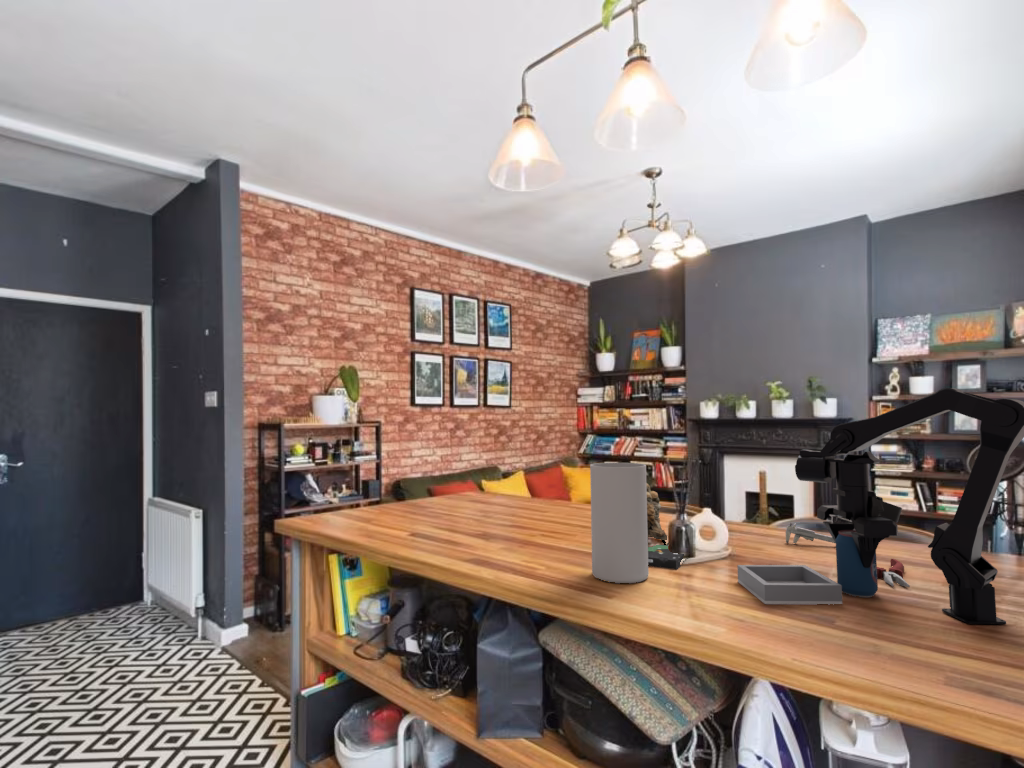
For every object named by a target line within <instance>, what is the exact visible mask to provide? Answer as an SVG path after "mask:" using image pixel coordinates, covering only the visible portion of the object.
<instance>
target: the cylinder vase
mask: <svg viewBox="0 0 1024 768" xmlns="http://www.w3.org/2000/svg"><path fill="white" fill-rule="evenodd" d="M589 466H590V468H589V470H590V474H589V475H590V520H591V522H590V523H591V524H590V525H591V526H590V527H591V530H590V531H591V534H590V536H591V574H592V576H594V578H595V579H597V578H599V579H601V580H600V581H602V580H605V581H609V582H608V583H610V582H615V583H614V584H620V583H629V584H637V583H640V582H643V581H646V580H647V579H648V578H649V573H650V572H649V566H648V529H647V486H646V483H647V465H646V464H644V463H638V462H637V463H635V462H598V463H590V465H589ZM599 579H598V580H599ZM605 581H604V582H605ZM636 582H637V583H636Z"/></svg>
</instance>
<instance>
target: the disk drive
mask: <svg viewBox="0 0 1024 768" xmlns="http://www.w3.org/2000/svg"><path fill="white" fill-rule="evenodd" d="M668 546H669V545H668V544H667V545H656V546H653V547H648V565H649V566H648V567H653V566H654V568H655V567H657V568H660V569H661V568H662V569H663V568H664V569H671V570H679V569H680V568H681V566H682V565H680V562H681V560H682V559H683V556H684V554H678V553H672V552H670V551H669V549H668Z"/></svg>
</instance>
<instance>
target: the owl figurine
mask: <svg viewBox="0 0 1024 768" xmlns="http://www.w3.org/2000/svg"><path fill="white" fill-rule="evenodd" d="M646 486H647V529H648V537H654V538H656V539H661V540H664V541H665V540H667V536H668V535H667V533H666V532H665V529H662V525H661V523H660V522H661V519H660V518H661V517H660V511H661V503H660V498H659V494H658V492H656V491H654V490H651V485H649V483H647V482H646Z"/></svg>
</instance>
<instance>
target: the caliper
mask: <svg viewBox="0 0 1024 768" xmlns="http://www.w3.org/2000/svg"><path fill="white" fill-rule="evenodd" d="M792 534H794V536H793V543H796V544H797V542H798V541H799V539H800V538H801V537H802V538H803V539H805V540H806V541H808V540H809V541H811V542H813V541H814V539H815V540H818V541H819V540H820V541H823V542H828V543H832V544H836V543H835V541H834V539H833V538H832V536H831V535H825V534H823V533H822V534H821V533H818V532H817V533H816V531H814V530H811V529H808V528H802V527H798V526H797V523H796V522H795V523H792V521H790V524H789V525H787V526H786V530H785V543H786V544H787V543H788V544H789V541H790V539H791V535H792ZM793 543H792V544H793Z"/></svg>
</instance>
